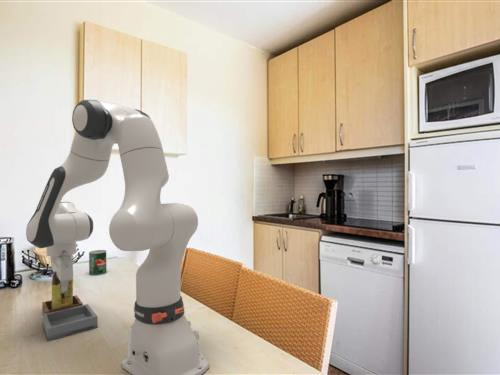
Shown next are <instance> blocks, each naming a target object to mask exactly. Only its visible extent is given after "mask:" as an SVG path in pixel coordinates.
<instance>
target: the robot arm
mask: <svg viewBox="0 0 500 375" xmlns="http://www.w3.org/2000/svg"><path fill="white" fill-rule="evenodd" d="M71 118H72V119H71V120H72V121H71V122H72V125H73V129H74V130H75V134H74V136H73V139H72V143H71V146H70V151H69V154H68V156H67V157H66V159H65V160H64V162H63V163H62V164H61V165H60V166H58V167H55V168H54V169H53V171H52V173H51V174H50V176H49V178H48V180H47V183H46V185H45V187H44V189H43V192H42V194H41V197H40V199H39V202H38V204H37V207H36V208H35V210H34V213H33V215H32V216H31V218H30V220H29V221H28V223H27V224H26V229H25V236H26V239H27V241H28V242H29V244H31V245H32V246H34V247H37V248H39V249H44V248H46V249H45V251H46V256H47V257H50V258H49V259H50V265H51V270H52V272H53V274H54V273H55V271H56V275H57V277H58V279H59V280H60V282H61V292H66V291H67V286H68V281H72V280H73V281H74V265H73V254H76V253H77V242H81V241H85V240H88V239H89V238H90V237H91V235H92V234H93V231H94V220H93V219H92V217H91V216H90V215H89V214H88V213H86V212H82V211H81V210H79V209H77V208H76V206H75V203H74V202H71V201H62V199H63V197H64V196H65V195H66V194H67V193H68V192H70V191H72V190H73V189H76V188H79V187H81V186H84V185H87V184H91V183H94V182H96V181H98V180H99V179H101V178H102V177H103V176H104V175H105V173H106V172H107V170H108V167H109V163H110V160H111V155H112V150H113V147H114V145H115V144H117V146H118V152H119V157H120V158H119V159H120V161H121V162H120V163H121V168H122V173H123V178H124V196H123V200H122V203H121V206H120V207H119V208H118V210H117V211H116V212H115V213H114V214H113V216H112V218H111V220H110V223H109V226H108V233H109V237H110V240H111V242H112V243H113V245H114V247H116V249H118V250H120V251H123V252H143V251H144V252H145V251H147V250H149V251H148V254H147V257H146V258H145V259H144V261H143V262H142V263H141V265H139V267H138V269H137V270H136V274H135V289H136V290H135V291H136V292H135V295H136V296H135V297H136V299H135V301H134V307H133V312H134V318H135V319H134V322H133V324H132V325H131V326H130V327H129V330H128V340H127V341H128V342H127V356H126V357H125V358H124V359H123V360H122V361H121V368H122V369H124V370H125V371H127V372H128V373H129V374H130V375H203V374H204V373H205V372H206V371H207V370H208V369H209V368H210V363H209V361H208V359H207V358H206V357H205V355H204V354H203V352H202V351H201V349H200V348H199V342H198V340H199V339H200V334H199V331H198V330H193V328H192V327H191V326H192V323H191V321H190V320H188V319H187V317H186V315H185V307H184V306H185V304H184V301H183V297H182V296H181V283H182V282H181V276H182V265H183V262H184V261H183V259H184V257H185V253H186V249H187V247H188V244H189V241H190V240H191V239H192V236H194V234H195V233H196V232H197V230H198V226H199V219H198V214H197V213H196V210H195V209H194V208H193V207H192V206H189V205H188V204H184V203H179V202H169V203H161V191H162V188H164V186H166V184H167V183H168V181H169V176H170V175H169V171H168V166H167V160H166V158H165V154H164V153H165V152H164V148H163V145H162V141H161V139H160V136H159V132H158V131H157V130H158V129H157V128H156V126H155V123H154V121H153V120H152V118H151V117H150V115H149V114H147V113H145V112H144V111H142V110H139V109H134V108H131V107H128V106H125V105H121V104H119V103H114V102H108V101H107V102H106V101H99V100H97V99H83V100H80V101H79V102H78V103H77V104H76V105H75V106H74V108H73V111H72V117H71Z"/></svg>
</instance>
